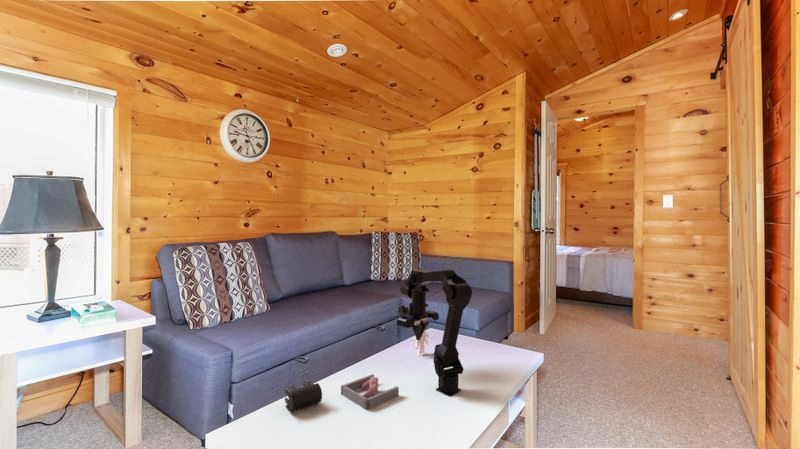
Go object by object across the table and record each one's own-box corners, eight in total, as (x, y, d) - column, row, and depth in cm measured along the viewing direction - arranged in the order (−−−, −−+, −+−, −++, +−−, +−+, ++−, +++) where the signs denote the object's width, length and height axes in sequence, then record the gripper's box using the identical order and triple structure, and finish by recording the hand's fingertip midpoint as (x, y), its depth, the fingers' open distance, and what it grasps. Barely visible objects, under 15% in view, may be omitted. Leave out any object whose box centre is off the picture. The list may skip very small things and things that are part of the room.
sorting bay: (398, 395, 131) (398, 387, 131) (366, 410, 122) (366, 400, 122) (372, 382, 142) (372, 374, 141) (340, 394, 132) (341, 385, 132)
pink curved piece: (371, 407, 127) (381, 388, 127) (359, 401, 126) (369, 382, 126) (372, 393, 136) (381, 376, 136) (360, 387, 136) (369, 370, 136)
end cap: (292, 417, 117) (292, 395, 117) (283, 407, 123) (283, 386, 122) (322, 407, 123) (322, 386, 123) (312, 398, 129) (312, 378, 129)
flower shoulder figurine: (423, 350, 175) (424, 324, 174) (430, 352, 172) (431, 326, 172) (411, 356, 168) (412, 329, 167) (418, 358, 165) (419, 331, 165)
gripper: (420, 294, 165) (419, 330, 166) (388, 301, 152) (387, 339, 153) (439, 299, 157) (439, 336, 158) (407, 306, 144) (406, 347, 145)
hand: (418, 339), depth 154 cm, fingers closed
